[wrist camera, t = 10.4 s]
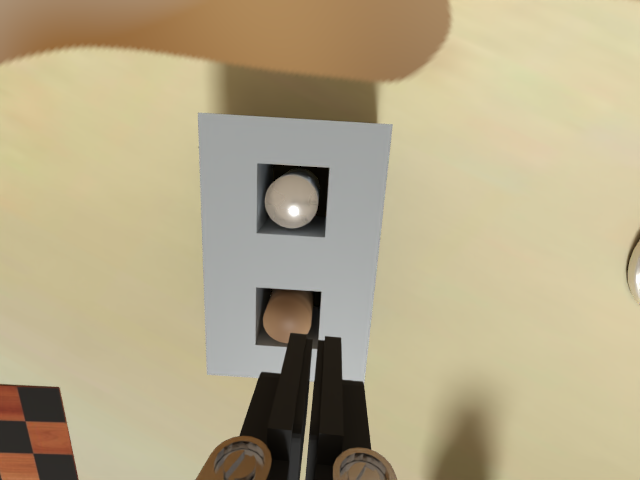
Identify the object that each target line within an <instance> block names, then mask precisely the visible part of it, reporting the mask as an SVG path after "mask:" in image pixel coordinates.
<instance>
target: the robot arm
mask: <svg viewBox="0 0 640 480" xmlns="http://www.w3.org/2000/svg"><path fill="white" fill-rule="evenodd" d="M628 284H629V287H630V291H631V293H632V295H633V297H634V298H635V300H636V301H637V302H638V303H639V305H640V240H639V242H638V243H637V245H636V247H635V248H634V250H633V253H632V256H631V258H630V261H629V267H628ZM312 345H313V339H307V334H299V333H290V337H289V341H288V345H287V349H286V353H285V357H284V362H283V366H282V370H281V373H271V372H261V373H260V376H259V378H258V381H257V385H256V388H255V391H254V394H253V397H252V400H251V403H250V406H249V409H248V412H247V415H246V418H245V421H244V424H243V427H242V430H241V433H240V436H238V437H233V438H230V439H228V440H225V441H224V442H222V443H221V444H220V445H218V446H217V447H216V448H215V449H214V451H213V452H212V453H211V454H210V456H209V458H208V460H207V461H206V463H205V465H204V466H203V468H202V470H201V471H200V473H199V475H198V477H197V478H196V480H300V471H301V462H302V452H303V443H304V434H305V425H306V416H307V405H308V393H309V381H310V369H311V357H312ZM305 480H397V477H396V474H395V472H394V470H393V468H392V466H391V464H390V463H389V462H388V461H387V460H386V459H385V458H384V457H383V456H382V455H380V454H379V453H377V452H375V451H373V450H371V443H370V435H369V426H368V417H367V408H366V399H365V390H364V383H363V381H353V380H343V379H342V343H341V337H331V336H325V340H318V347H317V358H316V368H315V379H314V390H313V400H312V411H311V422H310V433H309V444H308V456H307V467H306V478H305Z"/></svg>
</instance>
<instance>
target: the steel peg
mask: <svg viewBox="0 0 640 480" xmlns="http://www.w3.org/2000/svg"><path fill="white" fill-rule="evenodd" d="M319 195H320V183H319V180H318V178H317V177H316V176H315V174H314V173H312V172H311V171H310V170H308V169H305V168H294V169H291V170H289V171H288V172H286V173H285V174H284V175H282V176H281V177H279V178H278V179H277V180H275V181H274V182H273V183H272V184H271V185H270V187H269V188H268V190H267V192H266V196H265V207H266V210H267V213H268V215H269V216H270V218H271V219H272V220H273V221H274V222H275V223H277V224H278V225H280V226H282V227H286V228H299V227H302V226H304V225H306V224H307V223H309V222H310V221H311V220H312V219H313V217H314V216H315V214H316V211H317V208H318V202H319Z"/></svg>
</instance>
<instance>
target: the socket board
mask: <svg viewBox="0 0 640 480" xmlns="http://www.w3.org/2000/svg"><path fill="white" fill-rule="evenodd" d="M392 125H393V124H377V123H360V122H344V121H327V120H310V119H294V118H277V117H261V116H244V115H228V114H211V113H198V130H199V159H200V188H201V216H202V245H203V273H204V302H205V331H206V359H207V375H221V376H236V377H252V378H259V376H260V373H261V372H271V373H281V370H282V366H283V362H284V357H285V353H286V349H287V345H288V343H282V342H279V341H276V340H274V339H273V338H272V337H270V336H269V335H268V333H267V332H266V330H265V328H264V325H263V316H264V313H265V310H266V308H267V305H268V302H269V300H270V292H271V288H273V289H289V290H305V291H321V298H320V307H314V306H313V309H312V319H311V327H310V330H309V332H308V334H307V339H313V345H312V357H311V369H310V381H314V379H315V368H316V358H317V347H318V340H325V336H331V337H341V343H342V379H343V380H353V381H363V383H364V381H365V372H366V363H367V353H368V344H369V335H370V326H371V317H372V308H373V299H374V290H375V280H376V271H377V262H378V253H379V244H380V235H381V226H382V216H383V207H384V198H385V189H386V180H387V171H388V162H389V153H390V143H391V134H392ZM273 164H278V165H294V166H311V167H327V168H329V173H328V189H327V204H326V217H324V216H314V217H313V219H312V220H311V221H310V222H309V223H307V224H306V225H304V226H302V227H299V228H286V227H282V226H280V225H278V224H277V223H275V222H274V221H273V220H272V219H271V218H270V216H269V215H268V213H267V210H266V207H265V196H266V192H267V190H268V188H269V187H270V185H271V184H272V183H273Z"/></svg>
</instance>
